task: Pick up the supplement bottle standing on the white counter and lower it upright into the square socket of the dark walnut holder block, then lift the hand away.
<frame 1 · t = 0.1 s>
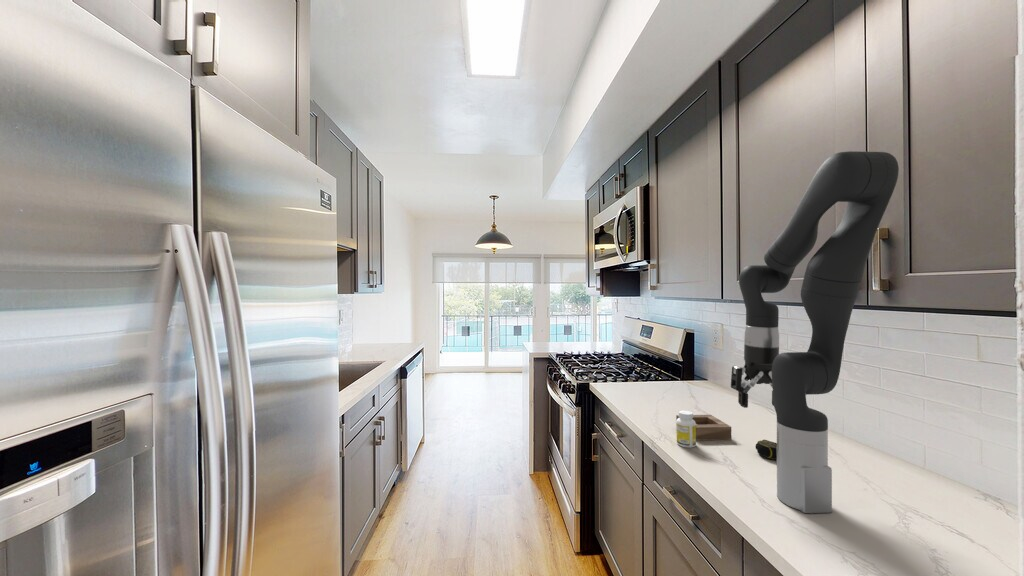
hand: (760, 406, 102), 17 cm above the countertop, fingers open, 8 cm apart
socket block: (702, 432, 131), on the countertop
tape measure: (770, 456, 113), on the countertop
supplement bottle: (686, 445, 121), on the countertop
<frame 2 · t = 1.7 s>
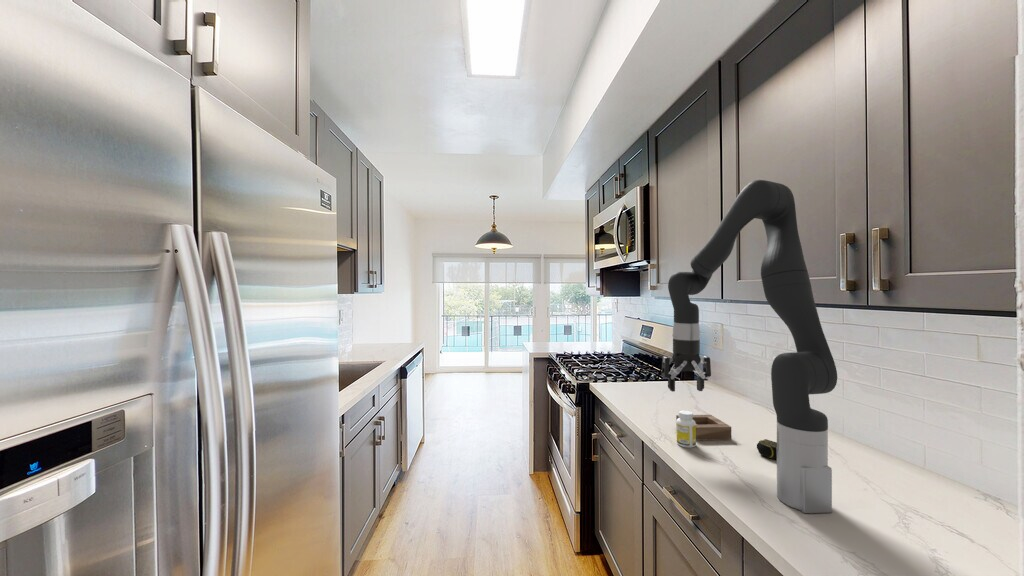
hand: (686, 390, 121), 16 cm above the countertop, fingers open, 8 cm apart
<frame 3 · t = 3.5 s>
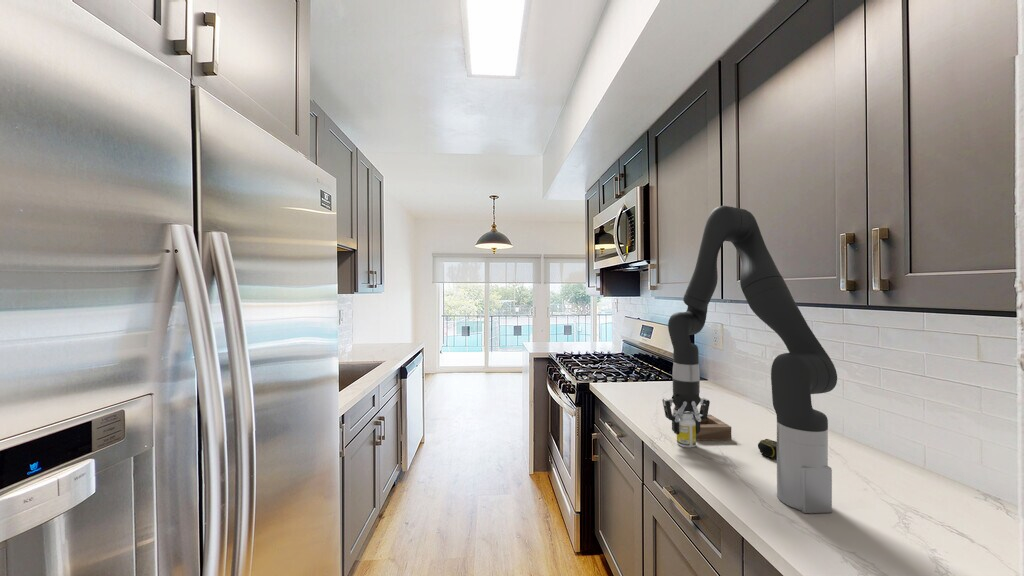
hand: (686, 432, 121), 4 cm above the countertop, fingers closed on supplement bottle, 5 cm apart
supplement bottle: (686, 445, 121), on the countertop, touching gripper
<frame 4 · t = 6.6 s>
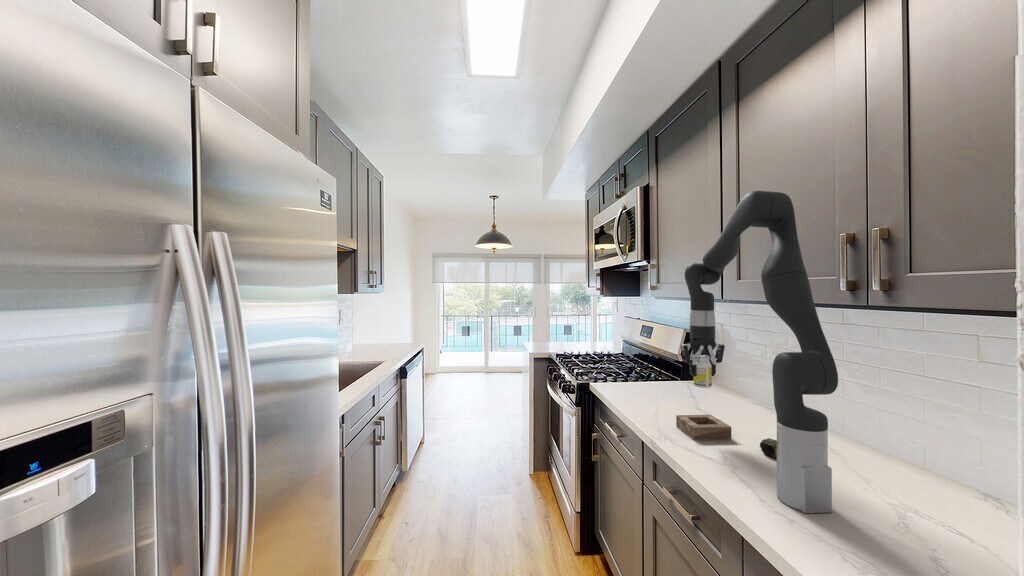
hand: (702, 375, 131), 19 cm above the countertop, fingers closed on supplement bottle, 5 cm apart
supplement bottle: (702, 386, 131), point 15 cm above the countertop, touching gripper
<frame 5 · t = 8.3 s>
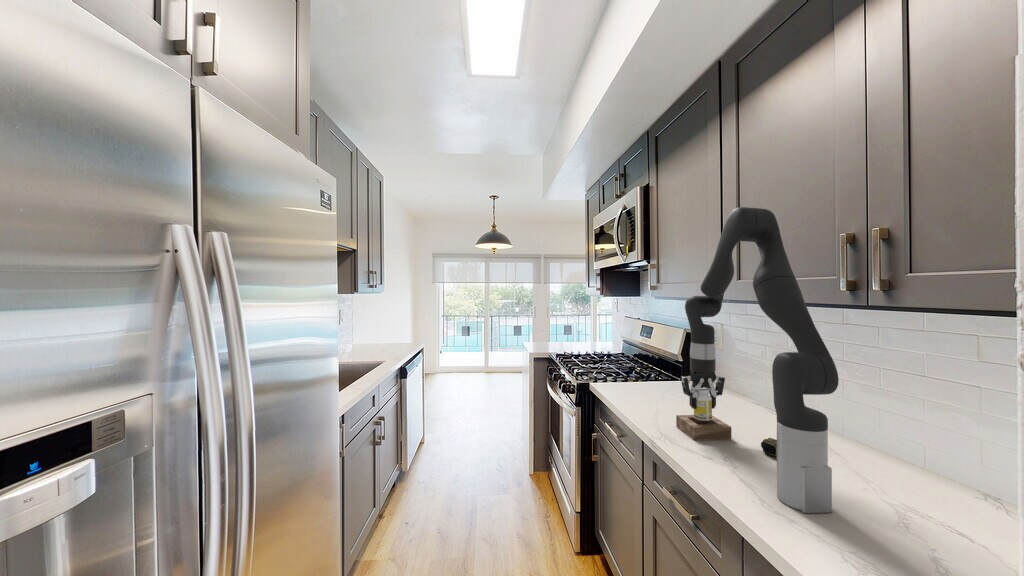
hand: (702, 407, 131), 8 cm above the countertop, fingers closed on supplement bottle, 5 cm apart
supplement bottle: (702, 419, 131), point 4 cm above the countertop, touching gripper
when the fingers open (5 cm above the countertop, at t = 9.8 s): supplement bottle drops 1 cm, resting on socket block.
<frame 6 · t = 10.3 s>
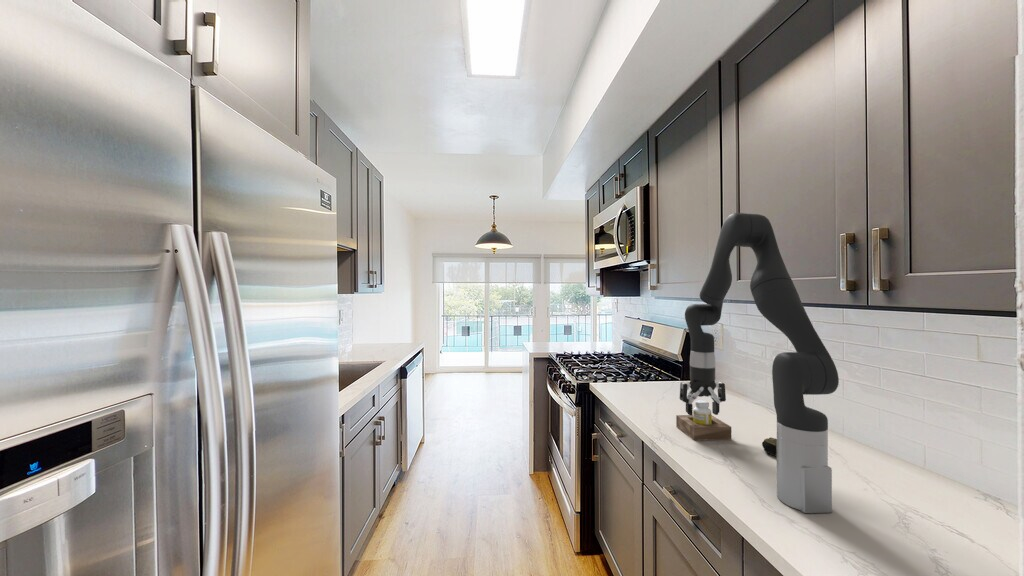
hand: (702, 414, 131), 6 cm above the countertop, fingers open, 8 cm apart
supplement bottle: (702, 432, 131), resting on socket block
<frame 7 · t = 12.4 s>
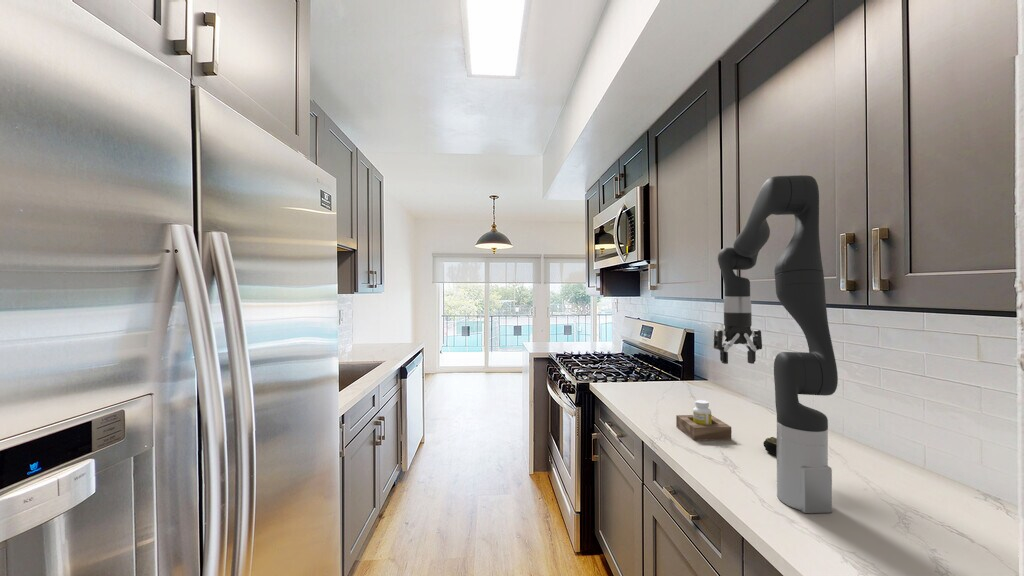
hand: (738, 363, 124), 24 cm above the countertop, fingers open, 8 cm apart
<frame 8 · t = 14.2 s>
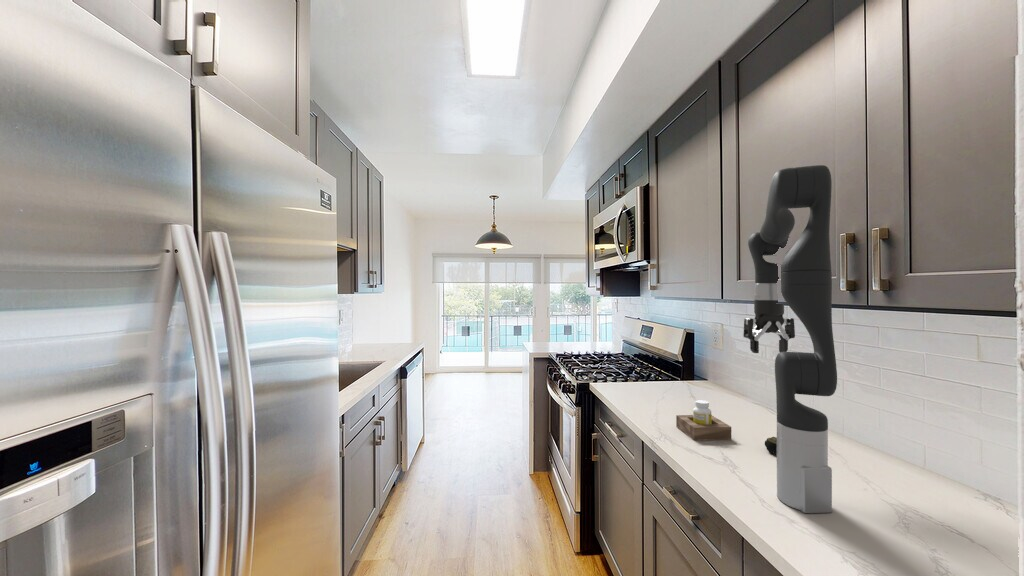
hand: (769, 352, 119), 28 cm above the countertop, fingers open, 8 cm apart
at the end: supplement bottle 0.1 cm off-centre on the socket block, point 0.3 cm above the socket block's base; supplement bottle tilted 0°; the gripper is holding nothing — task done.
